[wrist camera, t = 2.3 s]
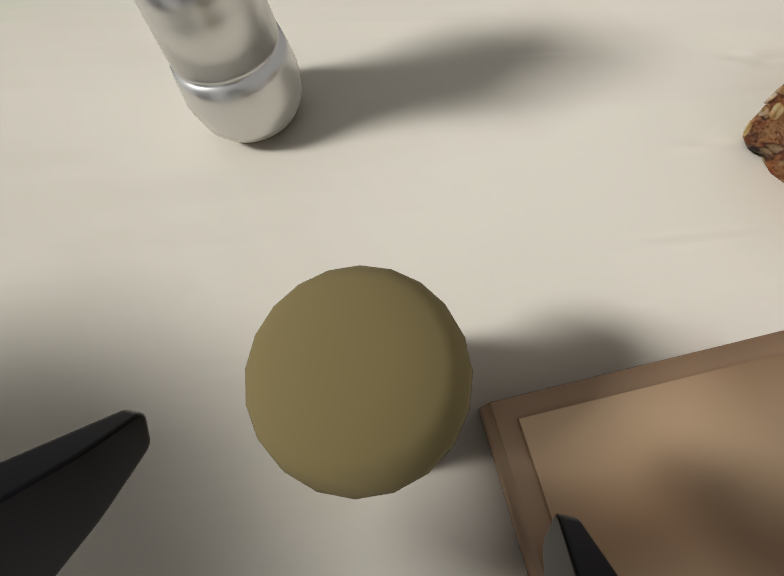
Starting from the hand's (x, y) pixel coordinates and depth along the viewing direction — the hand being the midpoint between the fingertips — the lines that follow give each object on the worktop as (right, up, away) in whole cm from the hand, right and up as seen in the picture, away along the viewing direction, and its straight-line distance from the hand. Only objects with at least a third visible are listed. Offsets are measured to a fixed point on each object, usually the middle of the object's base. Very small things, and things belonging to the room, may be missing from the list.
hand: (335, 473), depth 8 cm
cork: (+1, -2, +10) cm, 10 cm away
